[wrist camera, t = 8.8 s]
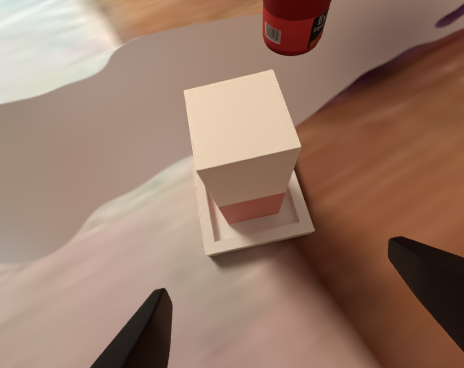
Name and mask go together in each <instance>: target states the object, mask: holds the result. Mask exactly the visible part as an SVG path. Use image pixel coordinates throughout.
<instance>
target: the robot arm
mask: <svg viewBox="0 0 464 368" xmlns="http://www.w3.org/2000/svg"><path fill="white" fill-rule="evenodd" d="M388 257H389V260H390V262H391V263H392V264H393V266H394V267H395V269H396V270H397V271H398V273H399V274H400V275H401V277H402V278H403V280H404V281H405V282H406V284H407V285H408V287H409V288H410V289H411V291H412V292H413V293H414V295H415V296H416V297H417V299H418V300H419V301H420V302H421V303H422V305H423V306H424V307H425V308H426V309H427V310H428V311H429V313H430V314H431V315H432V316H433V317H434V318H435V320H436V321H437V322H438V323H439V324H440V325H441V326H442V328H443V329H444V330H445V331H446V332H447V333H448V335H449V336H450V337H451V338H452V339H453V340H454V341H455V343H456V344H457V345H458V346H459V347H460V348H461V350H462V351H463V352H464V258H463V257H460V256H458V255H455V254H452V253H449V252H446V251H443V250H440V249H437V248H434V247H431V246H428V245H426V244H423V243H420V242H417V241H414V240H411V239H408V238H405V237H402V236H398V237H393V238H390V239H389V243H388ZM172 310H173V306H172V301H171V299H170V297H169V295H168V292H167V290H166V289H165V288H161V289H156V290H154V291H153V292H152V293H151V295H150V296H149V297H148V298H147V299H146V301H145V302H144V303H143V304H142V305H141V307H140V308H139V309H138V310H137V312H136V313H135V314H134V315H133V316H132V318H131V319H130V320H129V321H128V322H127V324H126V325H125V326H124V327H123V328H122V330H121V331H120V332H119V333H118V334H117V336H116V337H115V338H114V339H113V340H112V342H111V343H110V344H109V345H108V346H107V348H106V349H105V350H104V351H103V352H102V354H101V355H100V356H99V357H98V358H97V360H96V361H95V362H94V363H93V365H92V366H91V367H90V368H167V366H168V360H169V353H170V343H171V326H172Z"/></svg>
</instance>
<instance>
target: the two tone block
mask: <svg viewBox="0 0 464 368" xmlns="http://www.w3.org/2000/svg"><path fill="white" fill-rule="evenodd" d="M184 95H185V101H186V109H187V115H188V122H189V128H190V135H191V141H192V148H193V155H194V162H195V169H196V172H197V174H198V175H199V177H200V178H201V180H202V182H203V183H204V185H205V187H206V188H207V190H208V192H209V193H210V195H211V197H212V198H213V200H214V202H215V203H216V205H217V207H218V208H219V210H220V211H221V213H222V215H223V216H224V218H225V220H226V221H227V223H228V224H233V223H237V222H242V221H246V220H251V219H255V218H260V217H264V216H269V215H273V214H278V213H279V210H280V208H281V205H282V202H283V199H284V196H285V193H286V190H287V187H288V184H289V181H290V178H291V175H292V173H293V170H294V167H295V164H296V161H297V158H298V155H299V152H300V149H301V144H300V142H299V139H298V136H297V134H296V131H295V128H294V125H293V123H292V120H291V118H290V115H289V112H288V109H287V107H286V104H285V101H284V99H283V96H282V93H281V90H280V88H279V85H278V82H277V80H276V77H275V74H274V71H273V70H268V71H264V72H260V73H256V74H252V75H247V76H243V77H239V78H235V79H230V80H226V81H222V82H218V83H214V84H209V85H205V86H201V87H197V88H193V89H188V90H184Z"/></svg>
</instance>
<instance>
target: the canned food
mask: <svg viewBox="0 0 464 368" xmlns="http://www.w3.org/2000/svg"><path fill="white" fill-rule="evenodd" d="M330 2H331V0H263V38H264V41H265V43H266V45H267V47H268V48H269V49H270V50H272V51H273V52H275V53H277V54H281V55H285V56H295V55H301V54H305V53H307V52H309V51H310V50H311V49H313V48H314V47H315V46H316V45H317V43H318V41H319V40H320V38H321V35H322V32H323V28H324V25H325V21H326V17H327V14H328V10H329V6H330Z"/></svg>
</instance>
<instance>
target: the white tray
mask: <svg viewBox="0 0 464 368" xmlns="http://www.w3.org/2000/svg"><path fill="white" fill-rule="evenodd" d="M191 164H192V171H193V177H194V184H195V190H196V197H197V203H198V210H199V216H200V223H201V229H202V236H203V242H204V249H205V255H206V256H209V257H210V256H215V255H219V254H224V253H228V252H233V251H237V250H241V249H246V248H250V247H255V246H259V245H264V244H268V243H273V242H277V241H281V240H286V239H290V238H295V237H299V236H304V235H308V234H311V233H312V232H314V231H315V229H314V227H313V224H312V221H311V218H310V215H309V212H308V209H307V206H306V204H305V201H304V198H303V195H302V192H301V189H300V186H299V183H298V180H297V178H296V175H295V172H294V170H293V173H292V175H291V178H290V181H289V184H288V187H287V190H286V193H285V196H284V199H283V202H282V205H281V208H280V210H279V213H278V214H273V215H269V216H264V217H260V218H255V219H251V220H246V221H242V222H237V223H233V224H228V223H227V221H226V220H225V218H224V216H223V215H222V213H221V211H220V210H219V208H218V207H217V205H216V203H215V202H214V200H213V198H212V197H211V195H210V193H209V192H208V190H207V188H206V187H205V185H204V183H203V182H202V180H201V178H200V177H199V175H198V174H197V172H196V169H195V162H194V159H191Z"/></svg>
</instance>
